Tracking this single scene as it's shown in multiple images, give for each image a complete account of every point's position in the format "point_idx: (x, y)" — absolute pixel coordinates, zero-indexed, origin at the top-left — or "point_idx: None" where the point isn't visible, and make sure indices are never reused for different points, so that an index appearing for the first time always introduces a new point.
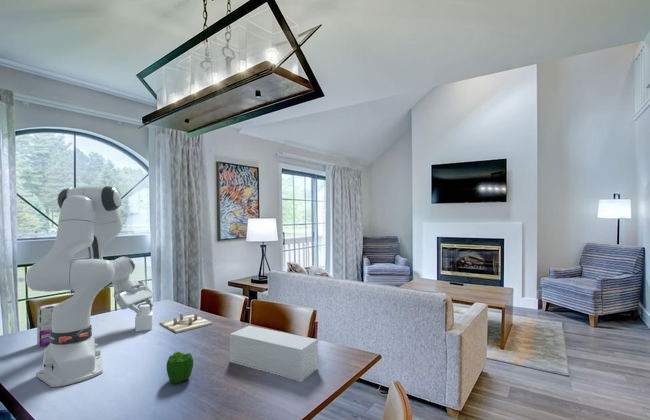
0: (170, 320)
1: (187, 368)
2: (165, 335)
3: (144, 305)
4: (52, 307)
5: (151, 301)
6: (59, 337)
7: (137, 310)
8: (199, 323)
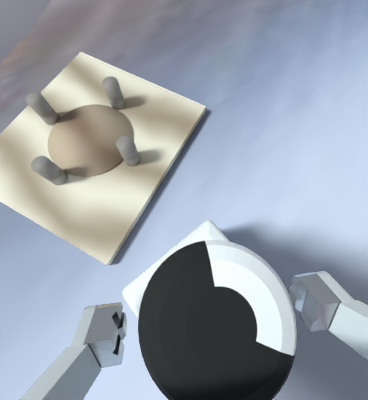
0: (75, 224)
1: None
2: (237, 132)
3: (262, 278)
4: None
5: (51, 367)
6: None
7: (334, 287)
8: (102, 80)
